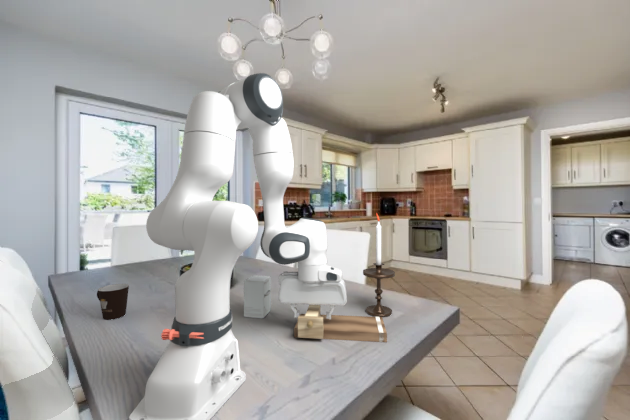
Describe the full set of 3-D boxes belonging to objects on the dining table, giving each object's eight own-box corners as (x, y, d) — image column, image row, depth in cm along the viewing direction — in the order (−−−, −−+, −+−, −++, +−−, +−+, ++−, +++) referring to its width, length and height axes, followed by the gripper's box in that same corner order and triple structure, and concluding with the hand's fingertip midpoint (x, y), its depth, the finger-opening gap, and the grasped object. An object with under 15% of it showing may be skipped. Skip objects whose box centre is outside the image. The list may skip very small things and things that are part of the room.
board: (386, 342, 76) (386, 332, 76) (294, 337, 80) (294, 328, 80) (382, 325, 87) (382, 316, 87) (300, 321, 91) (300, 313, 90)
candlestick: (357, 312, 97) (356, 213, 97) (373, 304, 105) (373, 212, 105) (385, 321, 90) (384, 213, 89) (400, 311, 98) (400, 212, 97)
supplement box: (263, 319, 93) (263, 281, 92) (243, 317, 94) (242, 280, 94) (271, 310, 100) (271, 275, 100) (252, 309, 101) (252, 274, 101)
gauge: (322, 340, 76) (322, 320, 75) (297, 339, 76) (297, 319, 76) (326, 322, 87) (326, 305, 87) (304, 321, 88) (303, 304, 88)
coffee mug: (132, 315, 96) (132, 287, 96) (101, 323, 90) (100, 293, 89) (123, 307, 104) (123, 280, 104) (94, 314, 98) (94, 285, 97)
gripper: (275, 273, 81) (276, 320, 81) (346, 275, 78) (346, 324, 79) (281, 268, 87) (281, 312, 87) (346, 270, 85) (346, 315, 85)
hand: (312, 318), depth 83 cm, fingers open, 8 cm apart
